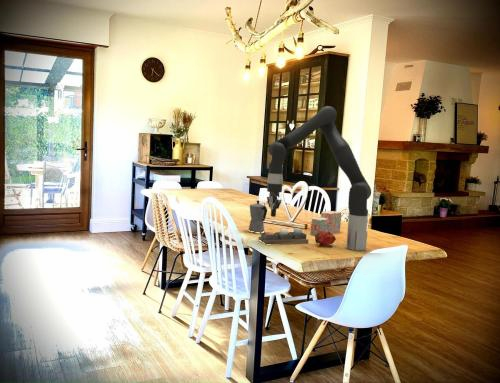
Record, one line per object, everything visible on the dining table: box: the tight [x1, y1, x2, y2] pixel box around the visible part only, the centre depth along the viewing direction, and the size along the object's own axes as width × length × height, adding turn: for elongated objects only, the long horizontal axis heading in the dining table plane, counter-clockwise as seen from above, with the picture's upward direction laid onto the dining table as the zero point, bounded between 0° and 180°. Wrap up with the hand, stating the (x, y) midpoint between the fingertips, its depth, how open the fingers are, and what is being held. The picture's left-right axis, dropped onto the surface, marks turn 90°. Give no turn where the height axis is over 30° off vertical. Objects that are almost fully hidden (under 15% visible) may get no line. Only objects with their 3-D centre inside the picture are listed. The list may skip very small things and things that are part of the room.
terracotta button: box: [264, 231, 275, 235], centre depth 236 cm, size 4×4×3 cm
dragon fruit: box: [314, 231, 337, 247], centre depth 236 cm, size 8×8×12 cm
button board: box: [258, 231, 309, 245], centre depth 239 cm, size 10×24×4 cm, turn 111°
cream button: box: [279, 228, 289, 235], centre depth 239 cm, size 4×4×3 cm
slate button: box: [292, 227, 303, 234], centre depth 242 cm, size 4×4×3 cm
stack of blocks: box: [310, 210, 342, 236], centre depth 269 cm, size 21×6×12 cm, turn 137°
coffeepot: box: [248, 199, 268, 232], centre depth 260 cm, size 15×9×18 cm, turn 33°
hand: (273, 216), depth 235 cm, fingers closed
